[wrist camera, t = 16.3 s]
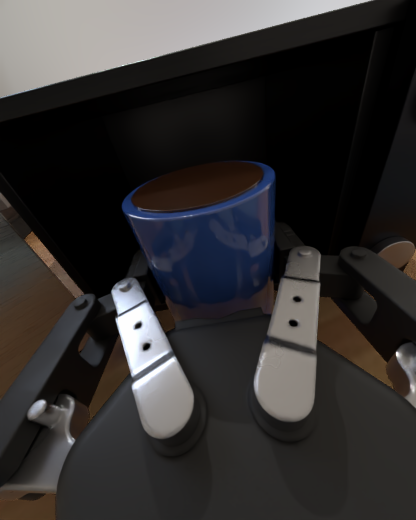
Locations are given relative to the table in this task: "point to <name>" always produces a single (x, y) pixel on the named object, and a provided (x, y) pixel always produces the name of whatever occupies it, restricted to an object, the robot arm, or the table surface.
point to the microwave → (228, 137)
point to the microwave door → (25, 303)
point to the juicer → (13, 217)
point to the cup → (208, 237)
